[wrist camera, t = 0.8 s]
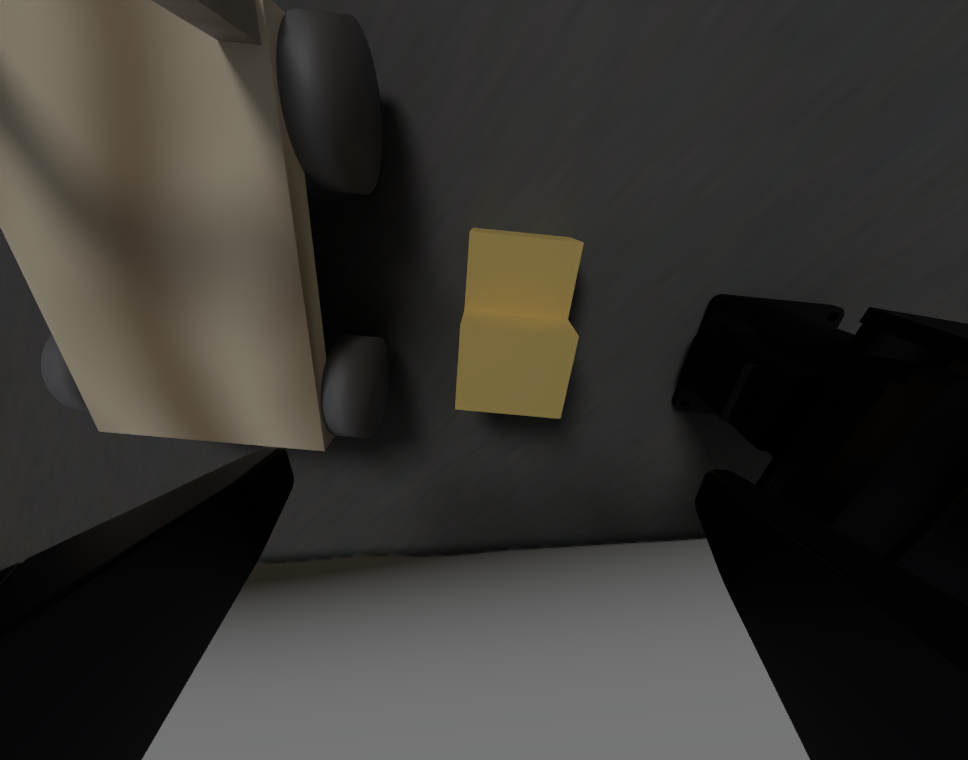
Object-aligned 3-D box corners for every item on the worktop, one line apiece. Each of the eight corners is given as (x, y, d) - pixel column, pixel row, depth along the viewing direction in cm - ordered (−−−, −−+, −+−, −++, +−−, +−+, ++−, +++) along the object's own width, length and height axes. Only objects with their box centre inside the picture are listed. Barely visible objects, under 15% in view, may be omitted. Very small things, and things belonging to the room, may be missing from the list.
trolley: (379, 51, 14) (-241, -801, 2) (390, 405, 21) (263, 652, 9) (32, 12, 13) (-2885, -1219, 2) (164, 384, 20) (-258, 613, 9)
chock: (570, 237, 17) (598, 248, 12) (545, 370, 20) (560, 418, 15) (473, 227, 16) (465, 235, 12) (463, 363, 20) (455, 409, 15)
